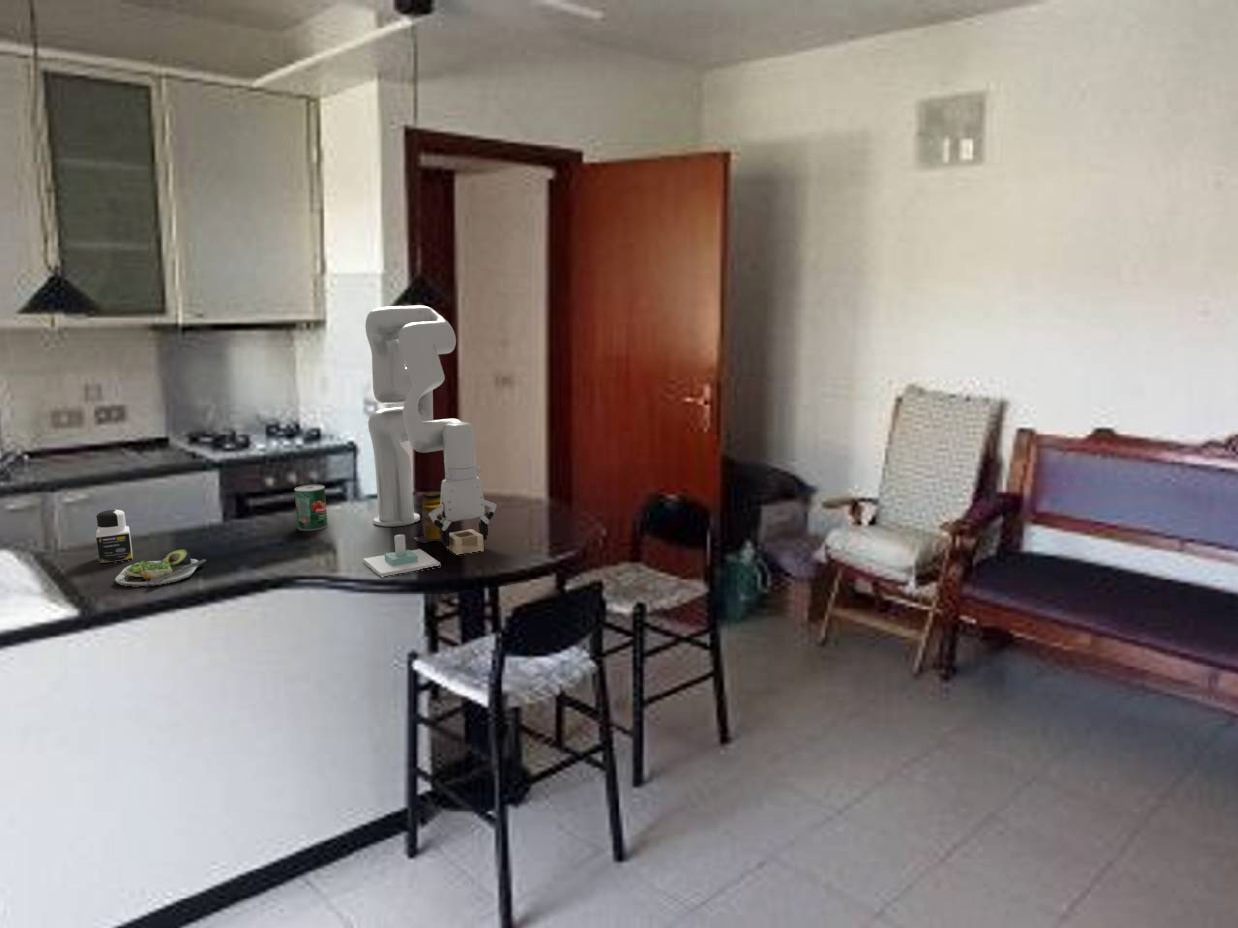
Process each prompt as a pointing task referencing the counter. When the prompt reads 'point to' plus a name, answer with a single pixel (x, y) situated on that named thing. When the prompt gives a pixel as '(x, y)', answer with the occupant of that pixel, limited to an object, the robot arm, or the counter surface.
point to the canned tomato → (311, 507)
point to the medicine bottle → (113, 536)
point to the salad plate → (161, 570)
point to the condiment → (429, 529)
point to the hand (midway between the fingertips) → (465, 541)
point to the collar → (465, 542)
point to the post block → (400, 560)
